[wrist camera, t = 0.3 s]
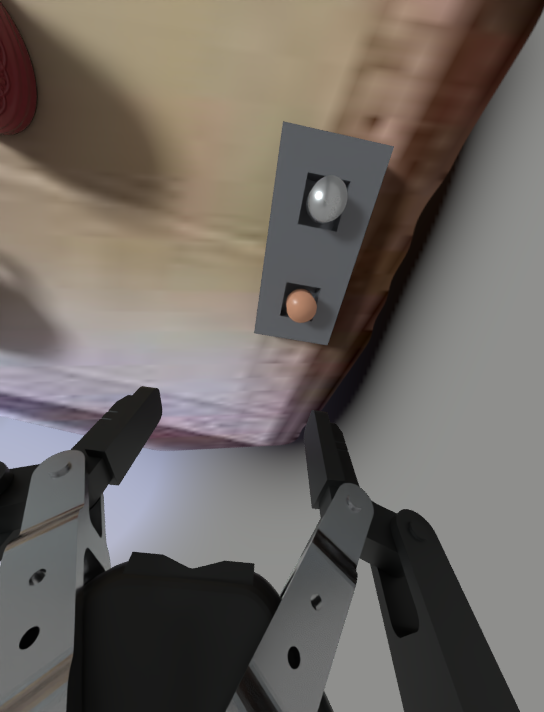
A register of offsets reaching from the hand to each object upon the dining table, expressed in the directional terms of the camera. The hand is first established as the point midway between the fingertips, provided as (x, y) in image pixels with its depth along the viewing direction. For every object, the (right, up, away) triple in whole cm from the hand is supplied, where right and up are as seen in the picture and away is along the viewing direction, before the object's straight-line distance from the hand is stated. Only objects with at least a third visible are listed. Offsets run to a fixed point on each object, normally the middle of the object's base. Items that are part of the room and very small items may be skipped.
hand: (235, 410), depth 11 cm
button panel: (+7, +18, +20) cm, 28 cm away
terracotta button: (+6, +11, +20) cm, 23 cm away
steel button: (+8, +21, +14) cm, 26 cm away
